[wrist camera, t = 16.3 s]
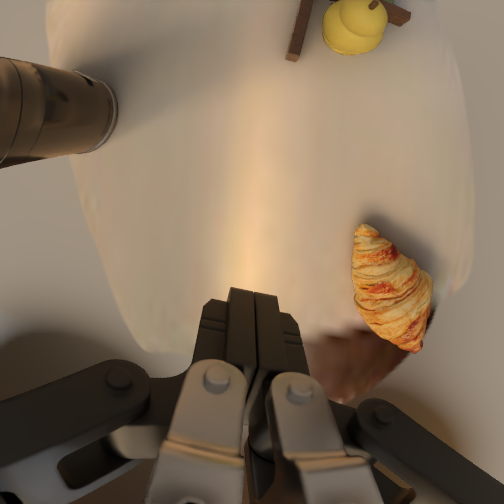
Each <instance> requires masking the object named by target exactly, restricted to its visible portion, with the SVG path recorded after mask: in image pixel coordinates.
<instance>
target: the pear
mask: <svg viewBox="0 0 504 504" xmlns="http://www.w3.org/2000/svg"><path fill="white" fill-rule="evenodd" d="M387 21H388V16H387V12H386V9H385V7H384V6H383V5H382V3H381V2H380V1H378V0H339V1H337V2H335V3H333V4H332V5H331V6H330V7H329V8H328V9H327V10H326V12H325V14H324V17H323V37H324V40H325V42H326V43H327V45H328V46H329V47H330V48H331V49H333V50H334V51H336V52H338V53H340V54H343V55H354V54H361V53H366V52H369V51H371V50H373V49H374V48H375V47H377V46H378V44H379V43H380V42H381V40H382V37H383V34H384V29H385V27H386V25H387Z"/></svg>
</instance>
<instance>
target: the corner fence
mask: <svg viewBox="0 0 504 504" xmlns="http://www.w3.org/2000/svg"><path fill="white" fill-rule="evenodd" d="M330 1H333V2H337V1H339V0H330ZM378 1H380V2H381V3H382V5H383V6H384V7H385V9H386V12H387V16H388V22H390V23H392V24H395V25H397V26H399V27H400V26H402V25H403V24H405V23H406V22H408V21H409V20H410V16H411V12H409V11H407V10H405V9H403V8H400V7H398V6H396V5H394V4H391V3H389V2H387V1H384V0H378ZM312 3H313V0H300V4H299V8H298V12H297V16H296V20H295V23H294V27H293V31H292V35H291V39H290V43H289V47H288V51H287V55H286V60H289V61H293V62H296V61H297V59H298V57H299V56H300V52H301V48H302V44H303V40H304V36H305V32H306V28H307V24H308V19H309V15H310V11H311V7H312Z"/></svg>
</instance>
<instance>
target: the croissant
mask: <svg viewBox="0 0 504 504" xmlns="http://www.w3.org/2000/svg"><path fill="white" fill-rule="evenodd" d="M355 235H356V236H355V238H354V249H353V254H352V269H351V270H352V281H353V283H354V288H355V292H356V294H355V296H354V302H355V305H356V307H357V309H358V310H359V312H360V314H361V316H362V317H363V319H364V320H365V322H366V323H367V324H368V325H369V327H370V328H371V329H372V330H373V331H374V332H375V333H376V334H378V335H379V336H380V337H381V338H383V339H388V340H389V341H391V342H392V343H393V344H397V345H398V346H399V348H401V349H404V350H408V351H411V352H412V353H414V354H415V353H417V352H418V351H420V350H421V349H422V347H423V341H422V338H423V337H424V334H425V328H426V322H427V317H428V316H429V315H430V310H431V302H430V301H431V297H432V292H433V280H432V278H431V276H430V275H428V274H427V272H426V271H424V270H421V269H419V268H418V266H417V264H416V263H415V261H414V260H413V259H408V258H407V257H405V256H403V255H402V254H401V253H400V252H399V251H398V250H397V249H396V247H395V246H394V244H393V243H391V242H389V241H387V240H386V239H385V238H380V237H379V233H378V231H377V230H376V229H374V228H372V227H371V226H370V225H368V224H360V225H358V227H357V229H356V231H355Z"/></svg>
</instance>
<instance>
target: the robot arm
mask: <svg viewBox="0 0 504 504" xmlns="http://www.w3.org/2000/svg"><path fill="white" fill-rule="evenodd" d="M73 71H75V70H73ZM75 72H77V73H79V74H81V75H79V74H76V73H72V72H68V71H64V70H60V69H57V68H52V67H48V66H44V65H39V64H35V63H31V62H26V61H20V60H15V59H10V58H5V57H0V169H1V168H5V167H9V166H13V165H17V164H22V163H26V162H32V161H37V160H42V159H46V158H52V157H58V156H64V155H70V154H82V153H88V152H91V151H93V150H95V149H97V148H99V147H100V146H101V145H102V144H103V143H105V141H106V140H107V139H108V138H109V136H110V135H111V133H112V131H113V129H114V127H115V124H116V120H117V114H118V106H117V100H116V96H115V94H114V92H113V90H112V89H111V87H110V86H109V85H108V84H106V83H105V82H104V81H102V80H99V79H96V78H92V77H88V76H86V75H84V74H82V73H80V72H78V71H75ZM302 344H303V343H302V339H301V337H300V330H299V326H298V324H297V322H296V321H295V320H294V319H293V317H292V316H291V315H290V314H288V313H283V312H280V311H279V305H278V299H277V296H273V295H268V294H263V293H258V292H254V293H253V291H248V290H243V289H238V288H233V287H231V288H230V291H229V295H228V299H227V302H225V301H221V300H216V299H211V300H210V301H209V302H208V303H206V304H205V305H204V306H203V310H202V315H201V320H200V325H199V330H198V334H197V339H196V344H195V349H194V354H193V359H192V363H191V365H190V367H189V368H188V369H187V370H186V371H185V372H183V373H181V374H179V375H177V376H174V377H169V378H150V377H149V376H148V374H147V373H146V371H145V370H144V369H143V368H141V367H140V366H138V365H137V364H135V363H132V362H129V361H126V360H118V359H115V360H107V361H104V362H101V363H98V364H96V365H94V366H91V367H88V368H86V369H84V370H81V371H79V372H76V373H74V374H71V375H69V376H66V377H63V378H61V379H58V380H56V381H53V382H51V383H48V384H46V385H43V386H41V387H38V388H35V389H33V390H30V391H27V392H24V393H22V394H19V395H17V396H14V397H11V398H8V399H5V400H3V401H0V504H68V503H70V502H72V501H74V500H76V499H78V498H80V497H82V496H84V495H86V494H88V493H90V492H92V491H94V490H95V489H97V488H99V487H101V486H103V485H104V484H106V483H108V482H110V481H112V480H113V479H115V478H117V477H118V476H120V475H122V474H124V473H125V472H127V471H129V470H130V469H132V468H134V467H136V466H137V465H138V464H140V463H142V462H143V461H144V460H145V459H146V458H156V459H155V463H154V466H153V469H152V472H151V476H150V479H149V482H148V486H147V489H146V492H145V496H144V499H143V502H142V504H241V503H242V492H243V481H244V469H245V463H246V473H247V482H248V492H249V502H250V504H504V485H503V484H502V483H500V482H499V481H498V480H496V479H495V478H493V477H492V476H490V475H489V474H487V473H486V472H485V471H483V470H482V469H480V468H479V467H477V466H476V465H474V464H473V463H472V462H470V461H469V460H467V459H466V458H465V457H463V456H462V455H460V454H459V453H458V452H456V451H455V450H453V449H452V448H451V447H449V446H448V445H447V444H445V443H444V442H442V441H441V440H440V439H438V438H437V437H435V436H434V435H433V434H432V433H430V432H429V431H427V430H426V429H425V428H423V427H422V426H421V425H419V424H418V423H416V422H415V421H414V420H413V419H411V418H410V417H408V416H407V415H406V414H405V413H403V412H402V411H401V410H399V409H398V408H397V407H395V406H394V405H393V404H391V403H389V402H387V401H385V400H382V399H377V398H371V399H366V400H364V401H363V402H361V403H360V404H359V406H358V407H357V409H355V408H352V407H349V406H346V405H342V404H339V403H336V402H334V401H331V400H329V399H328V398H327V395H326V392H325V390H324V388H323V387H322V386H321V385H320V383H319V382H317V381H316V380H315V379H313V378H312V377H310V373H309V369H308V365H307V360H306V356H305V352H304V347H303V346H302ZM243 425H246V426H249V436H248V438H247V440H246V442H245V446H244V452H245V460H244V457H243V456H241V453H240V452H241V441H242V431H243ZM377 461H379V462H380V463H382V464H383V465H384V466H386V467H387V468H388V469H389V470H391V471H392V472H393V473H394V474H396V475H397V476H399V477H400V478H401V479H402V480H404V481H405V482H406V483H408V484H409V485H410V486H412V488H410V489H405V488H401V487H400V486H398V485H397V484H395V483H394V482H393V481H392V480H390V479H389V478H388V477H387V476H385V475H384V474H383V473H381V472H380V471H379V470H378V469H376V468H375V467H374V466H373V465H374V464H375V463H376V462H377Z"/></svg>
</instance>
